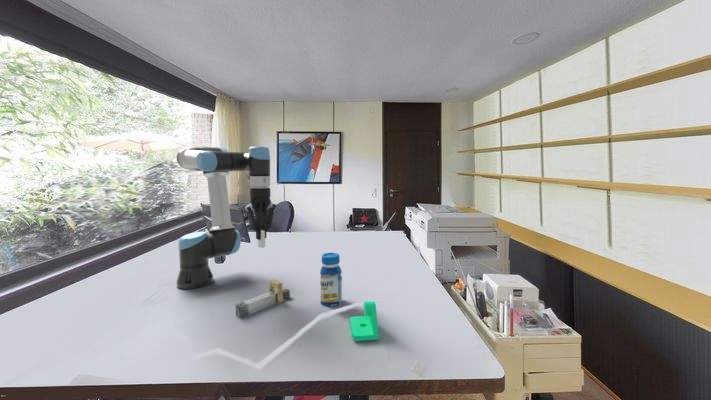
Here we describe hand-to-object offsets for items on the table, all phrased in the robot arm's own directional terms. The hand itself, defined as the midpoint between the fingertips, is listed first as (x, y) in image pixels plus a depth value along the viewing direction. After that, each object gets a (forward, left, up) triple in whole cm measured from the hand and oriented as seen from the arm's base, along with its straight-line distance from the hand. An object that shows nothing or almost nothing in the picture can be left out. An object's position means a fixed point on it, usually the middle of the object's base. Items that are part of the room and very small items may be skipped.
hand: (261, 246), depth 116 cm
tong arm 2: (+8, -5, -21) cm, 23 cm away
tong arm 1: (+6, -5, -21) cm, 22 cm away
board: (+7, -4, -22) cm, 24 cm away
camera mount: (+45, +7, -23) cm, 51 cm away
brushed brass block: (+7, +1, -21) cm, 22 cm away
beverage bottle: (+24, +15, -22) cm, 36 cm away
